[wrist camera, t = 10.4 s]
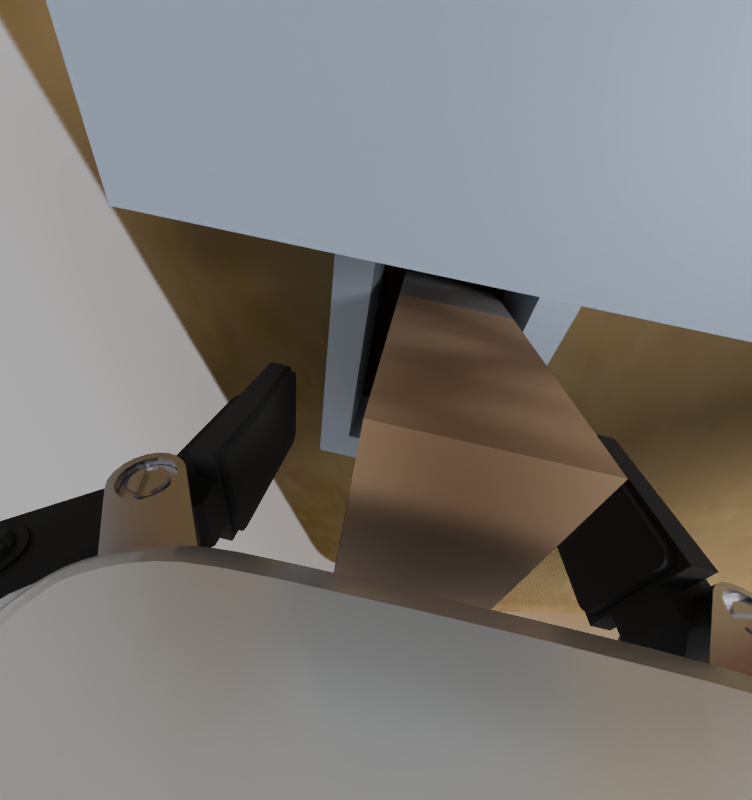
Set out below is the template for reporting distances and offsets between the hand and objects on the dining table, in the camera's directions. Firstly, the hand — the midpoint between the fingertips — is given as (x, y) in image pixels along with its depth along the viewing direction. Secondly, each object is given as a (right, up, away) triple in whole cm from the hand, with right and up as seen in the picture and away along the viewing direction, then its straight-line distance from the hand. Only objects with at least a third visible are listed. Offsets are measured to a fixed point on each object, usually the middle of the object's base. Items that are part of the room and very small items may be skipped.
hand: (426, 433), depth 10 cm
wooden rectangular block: (+1, +4, +6) cm, 8 cm away
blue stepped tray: (+2, +7, +5) cm, 8 cm away
